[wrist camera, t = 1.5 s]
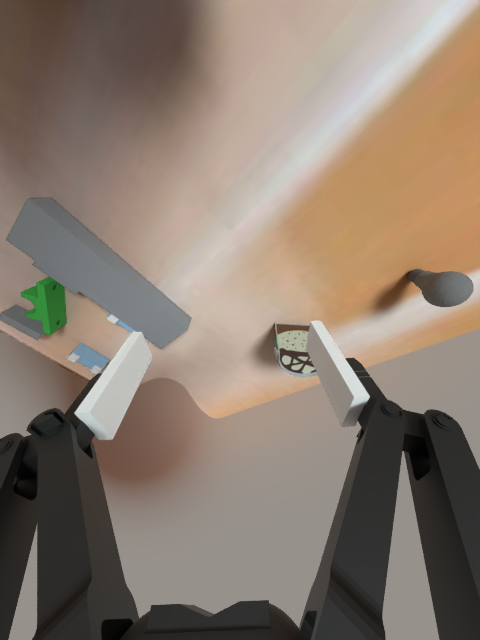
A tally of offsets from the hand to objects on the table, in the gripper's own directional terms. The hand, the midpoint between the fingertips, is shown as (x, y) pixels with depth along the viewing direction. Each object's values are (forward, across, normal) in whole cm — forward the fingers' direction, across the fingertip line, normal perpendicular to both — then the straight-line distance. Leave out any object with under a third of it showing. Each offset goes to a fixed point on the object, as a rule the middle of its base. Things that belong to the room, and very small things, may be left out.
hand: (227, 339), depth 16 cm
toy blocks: (+23, -28, -8) cm, 37 cm away
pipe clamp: (+23, -35, -6) cm, 42 cm away
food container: (+23, +12, -18) cm, 32 cm away
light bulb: (+23, +34, -5) cm, 41 cm away
